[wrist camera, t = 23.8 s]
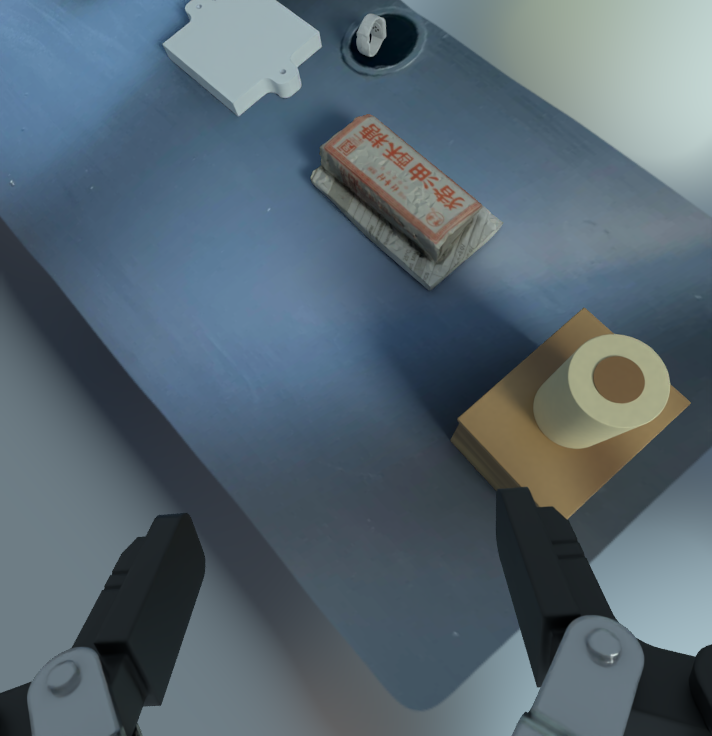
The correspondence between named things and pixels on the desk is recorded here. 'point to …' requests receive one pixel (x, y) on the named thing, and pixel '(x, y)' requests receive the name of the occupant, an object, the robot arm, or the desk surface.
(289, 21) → the mounting plate
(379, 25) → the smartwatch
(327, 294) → the desk surface
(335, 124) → the desk surface
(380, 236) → the packaged product
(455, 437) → the oak box
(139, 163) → the desk surface
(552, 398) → the toilet paper roll
